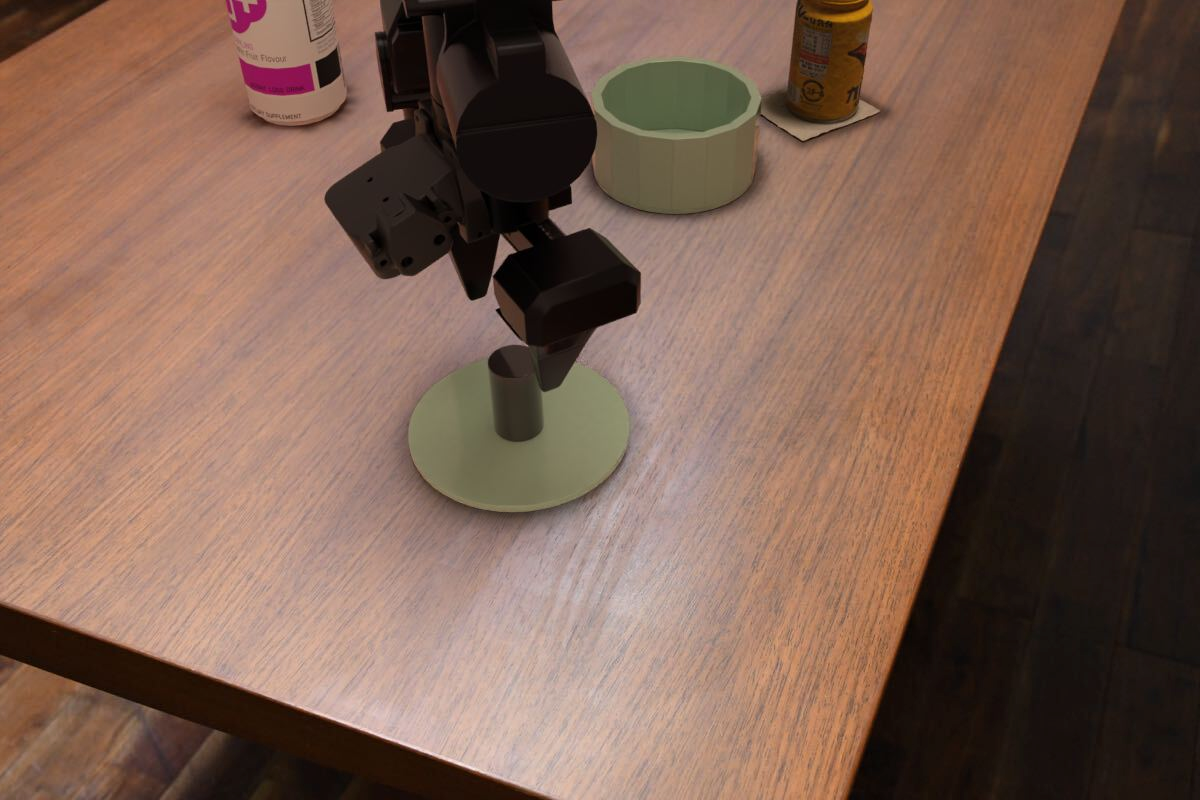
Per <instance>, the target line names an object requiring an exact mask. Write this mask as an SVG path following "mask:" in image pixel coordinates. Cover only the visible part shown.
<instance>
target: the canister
mask: <svg viewBox="0 0 1200 800" xmlns="http://www.w3.org/2000/svg"><path fill="white" fill-rule="evenodd" d="M762 98H763V97H762V95H761V92H760V89H759V88H758V86H757V84H756V81H754V80H753V79H751V78H750V77H749V76H748V75H746V74H745V73H743V72H742V71H740V70H739V68H736V67H733V66H730V65H727V64H725V63H722V62H718V61H715V60H712V59H708V58H701V57H700V58H699V57H691V56H683V55H671V56H657V57H655V56H654V57H646V58H642V59H638V60H635V61H631V62H627V63H623V64H621V65H619V66H616V67H615V68H613V69H612V70H611V71H609V72H607V73H606V74H604V75H602V76H601V77H600V78H599V79H598V80H597V82H596V84H595V86H594V87H593V89H592V91H591V93H590V106H591V109H592V111H593V114H594V116H595V120H596V123H597V140H596V147H595V151H594V153H593V156H592V158H591V163H592V168H593V176H594V179H595V182H596V183H597V185H598V186H599V188H600V189H601V190H602V191H603V192H604V193H605V194H607V195H608V196H609V197H610V198H612V199H613V200H615V201H616V202H619V203H621V204H623V205H625V206H628V207H630V208H632V209H637V210H641V211H643V212H649V213H655V214H663V215H664V214H665V215H667V214H668V215H684V214H686V215H687V214H695V213H702V212H707V211H711V210H714V209H718V208H721V207H724V206H725V205H728V204H730V203H731V202H734V201H735V200H737V199H739V198H740V197H741V196H742V195H743V194H745V192H747V190H748V189H749V188H750V186H751V184H752V182H753V181H754V178H755V172H756V170H757V169H756V168H757V162H758V152H759V139H760V126H761V115H762V114H761V104H762Z"/></svg>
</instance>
